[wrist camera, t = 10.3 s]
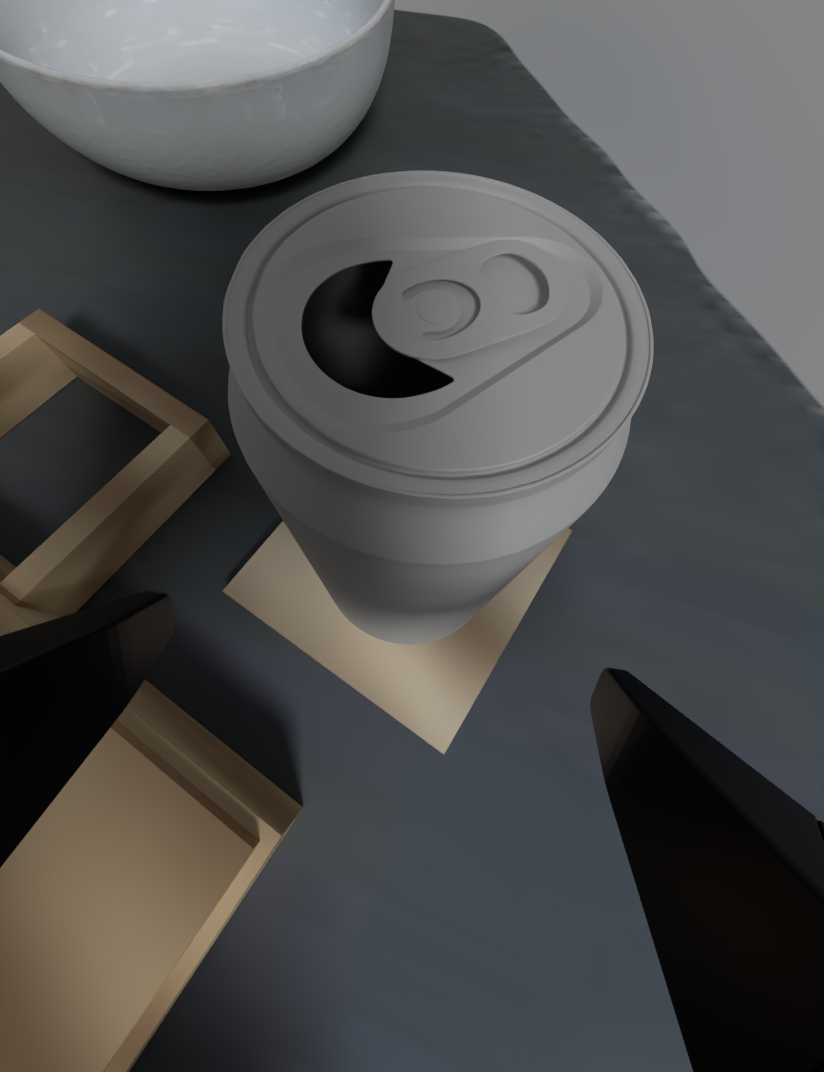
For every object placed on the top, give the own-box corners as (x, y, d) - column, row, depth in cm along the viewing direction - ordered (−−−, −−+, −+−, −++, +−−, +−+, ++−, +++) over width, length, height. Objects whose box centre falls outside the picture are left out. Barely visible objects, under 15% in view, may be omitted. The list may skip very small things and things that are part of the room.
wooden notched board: (58, 1179, 11) (-107, 1421, 7) (-367, 702, 14) (-626, 704, 11) (443, 594, 17) (457, 568, 13) (79, 353, 20) (10, 277, 17)
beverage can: (307, 520, 17) (142, 192, 6) (451, 472, 18) (544, 115, 7) (358, 673, 15) (257, 619, 4) (516, 610, 16) (796, 423, 5)
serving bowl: (410, 69, 31) (415, -98, 24) (371, 274, 23) (363, 112, 17) (123, 34, 30) (51, -143, 24) (-9, 230, 23) (-164, 49, 17)
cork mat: (441, 752, 15) (443, 754, 14) (228, 594, 17) (222, 591, 16) (566, 535, 18) (572, 530, 18) (376, 420, 20) (376, 412, 19)
